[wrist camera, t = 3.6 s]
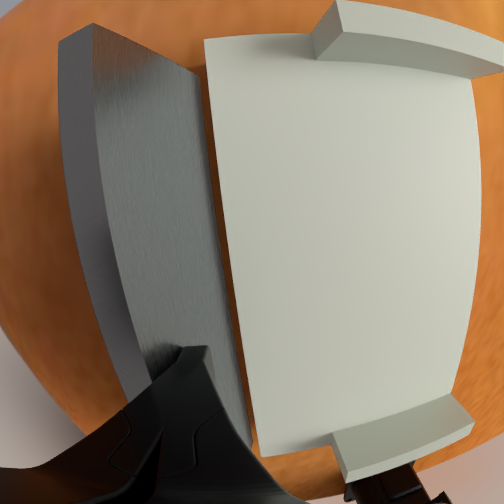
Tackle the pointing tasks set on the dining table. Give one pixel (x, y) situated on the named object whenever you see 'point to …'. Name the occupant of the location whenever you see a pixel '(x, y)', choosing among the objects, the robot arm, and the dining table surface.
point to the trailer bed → (353, 226)
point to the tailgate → (145, 211)
